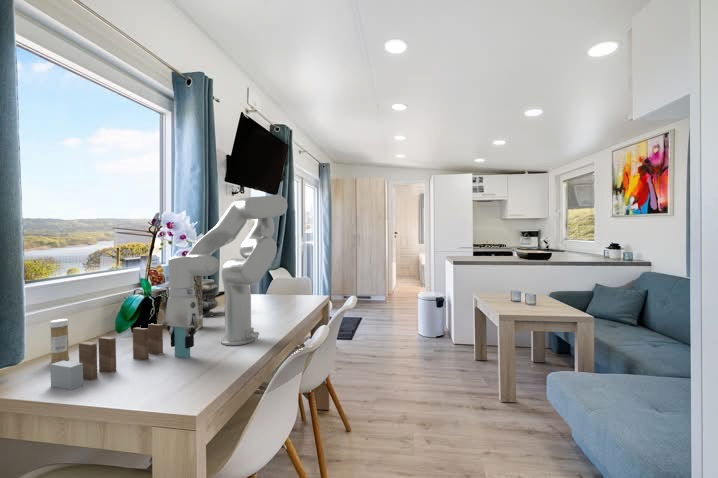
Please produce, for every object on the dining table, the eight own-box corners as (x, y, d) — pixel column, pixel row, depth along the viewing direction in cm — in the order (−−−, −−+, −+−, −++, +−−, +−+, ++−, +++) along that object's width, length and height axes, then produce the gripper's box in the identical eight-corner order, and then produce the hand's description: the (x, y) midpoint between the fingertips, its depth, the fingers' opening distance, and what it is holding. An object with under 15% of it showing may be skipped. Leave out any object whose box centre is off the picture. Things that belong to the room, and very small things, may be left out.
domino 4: (152, 351, 122) (151, 323, 122) (163, 352, 120) (162, 324, 120) (148, 353, 120) (147, 324, 120) (159, 354, 119) (158, 325, 119)
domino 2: (104, 368, 106) (103, 336, 106) (116, 370, 104) (115, 337, 104) (99, 370, 105) (98, 337, 104) (111, 372, 103) (110, 339, 103)
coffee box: (156, 323, 162) (155, 289, 162) (167, 323, 161) (167, 289, 161) (139, 328, 153) (139, 292, 153) (152, 329, 152) (151, 292, 152)
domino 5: (178, 354, 118) (178, 325, 118) (190, 356, 116) (189, 326, 116) (174, 356, 116) (174, 326, 116) (186, 357, 115) (186, 327, 115)
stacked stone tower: (215, 317, 173) (215, 281, 173) (189, 318, 171) (189, 282, 170) (220, 312, 185) (219, 278, 185) (195, 313, 182) (195, 279, 182)
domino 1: (85, 375, 101) (84, 341, 101) (97, 377, 99) (96, 343, 99) (79, 378, 99) (78, 343, 99) (91, 380, 98) (90, 344, 98)
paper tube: (197, 325, 157) (196, 270, 157) (205, 327, 153) (204, 271, 153) (182, 328, 152) (181, 271, 151) (190, 331, 148) (189, 272, 147)
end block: (83, 385, 94) (82, 363, 94) (71, 390, 91) (70, 367, 91) (63, 381, 97) (62, 360, 97) (50, 386, 94) (50, 364, 94)
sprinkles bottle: (70, 357, 117) (70, 317, 116) (66, 361, 113) (65, 320, 112) (53, 359, 115) (52, 319, 114) (48, 364, 111) (47, 322, 110)
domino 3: (137, 356, 117) (137, 327, 116) (148, 358, 115) (148, 328, 115) (133, 358, 115) (132, 328, 115) (144, 359, 113) (143, 329, 113)
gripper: (210, 292, 117) (211, 345, 117) (171, 290, 122) (171, 341, 123) (193, 295, 110) (194, 352, 110) (152, 293, 115) (153, 347, 115)
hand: (182, 346), depth 116 cm, fingers open, 5 cm apart
